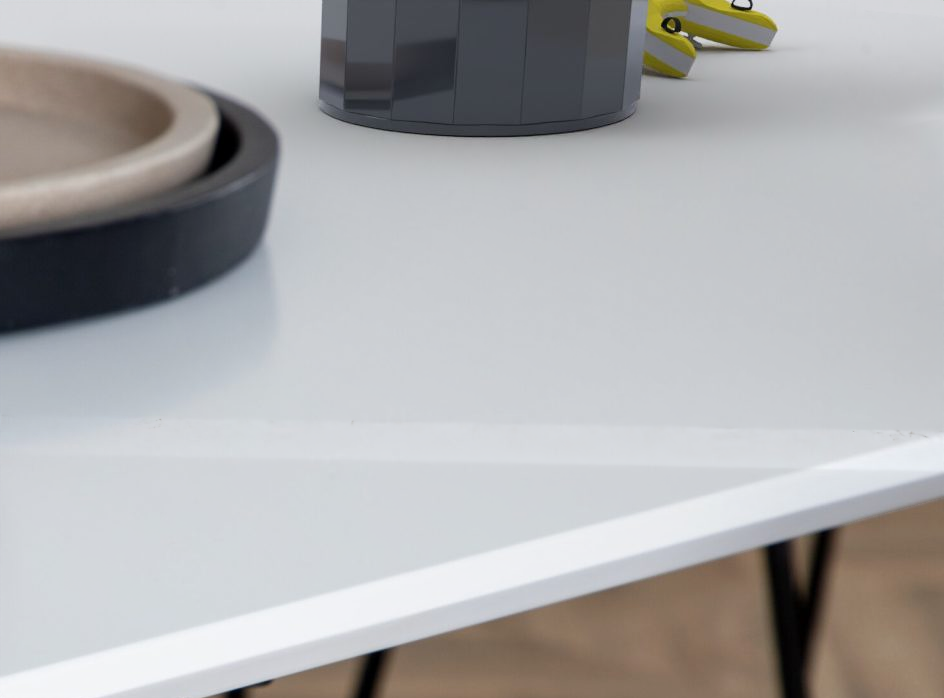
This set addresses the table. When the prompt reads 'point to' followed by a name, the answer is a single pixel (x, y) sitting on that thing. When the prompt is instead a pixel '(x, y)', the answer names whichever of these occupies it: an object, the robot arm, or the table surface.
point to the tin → (481, 64)
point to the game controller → (700, 31)
